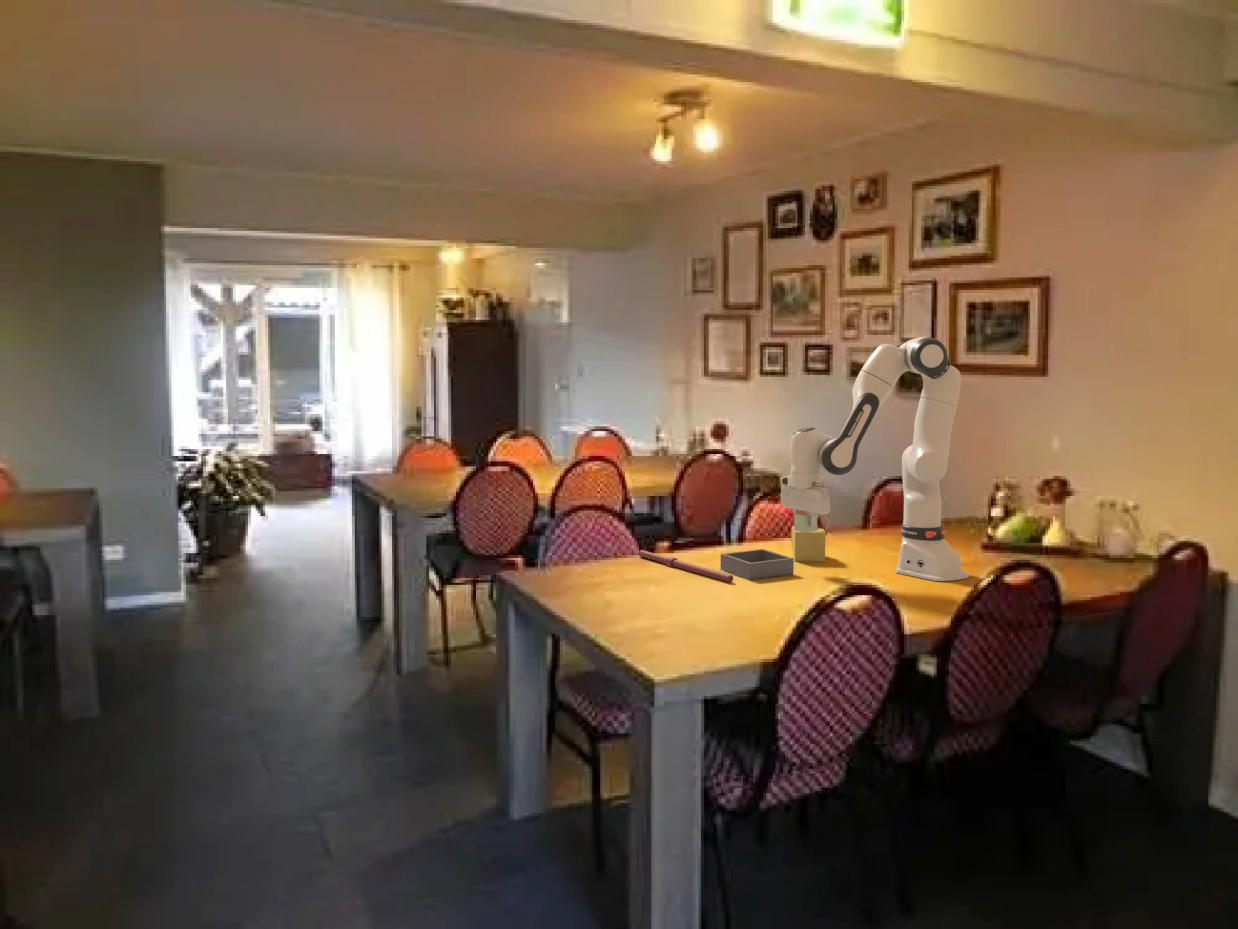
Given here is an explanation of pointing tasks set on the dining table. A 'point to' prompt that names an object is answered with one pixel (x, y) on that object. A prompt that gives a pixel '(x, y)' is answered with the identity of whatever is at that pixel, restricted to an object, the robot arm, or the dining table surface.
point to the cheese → (808, 545)
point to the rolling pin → (687, 566)
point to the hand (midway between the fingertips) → (805, 525)
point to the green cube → (803, 523)
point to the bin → (757, 564)
